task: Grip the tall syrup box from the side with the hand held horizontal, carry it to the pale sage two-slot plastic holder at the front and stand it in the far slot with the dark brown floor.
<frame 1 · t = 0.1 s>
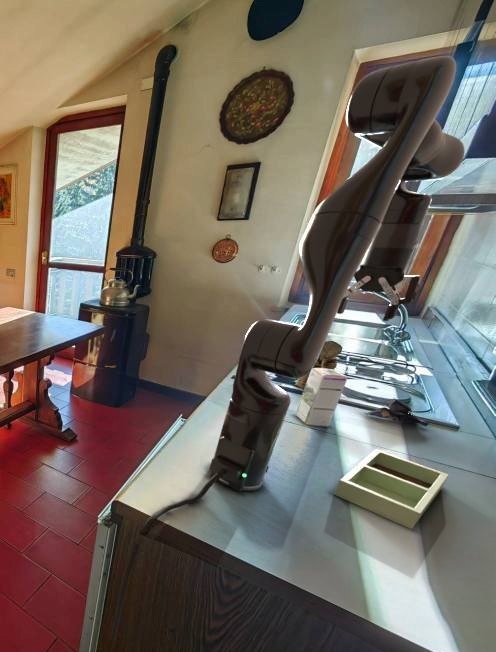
hand: (362, 316, 93), 29 cm above the counter, tool pointing down, fingers open, 8 cm apart
snack package: (393, 420, 108), on the counter
tan boot: (312, 390, 127), on the counter
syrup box: (310, 421, 106), on the counter
holder: (387, 491, 78), on the counter
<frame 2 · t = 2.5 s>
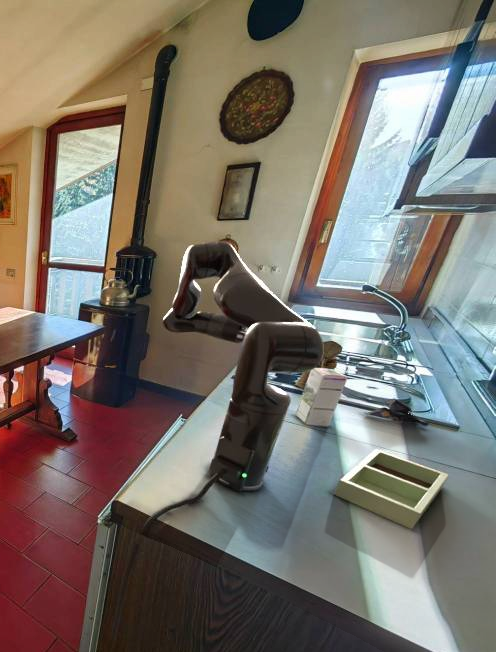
hand: (287, 341, 107), 20 cm above the counter, tool horizontal, fingers open, 8 cm apart
nothing on the counter moved.
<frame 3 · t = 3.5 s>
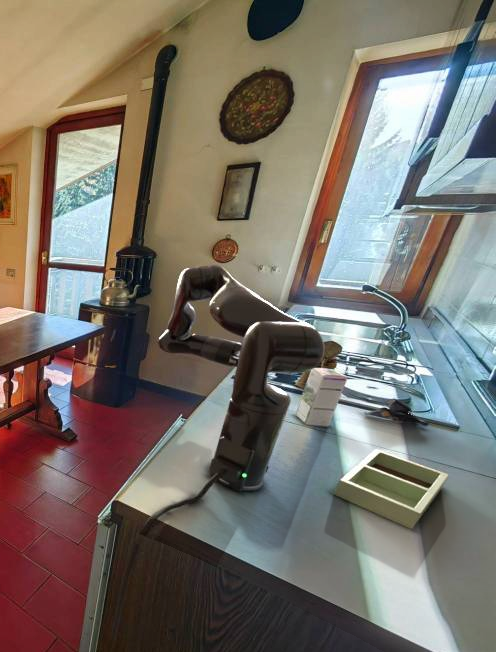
hand: (278, 366, 110), 12 cm above the counter, tool horizontal, fingers open, 8 cm apart
nothing on the counter moved.
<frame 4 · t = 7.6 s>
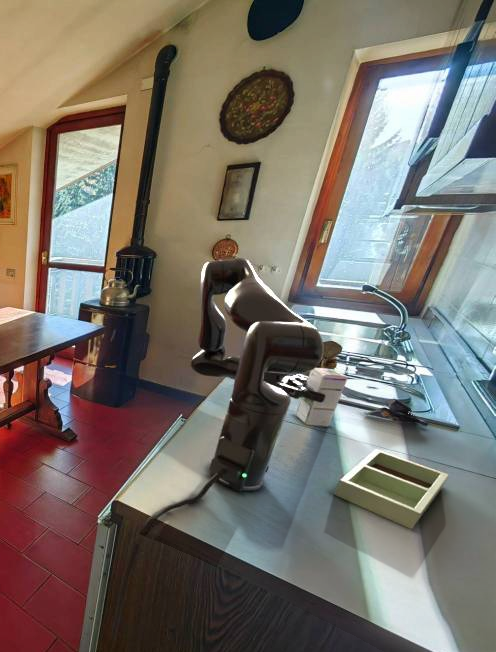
hand: (330, 395, 101), 8 cm above the counter, tool horizontal, fingers closed on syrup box, 8 cm apart
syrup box: (310, 421, 106), on the counter, touching gripper
everything else where it was.
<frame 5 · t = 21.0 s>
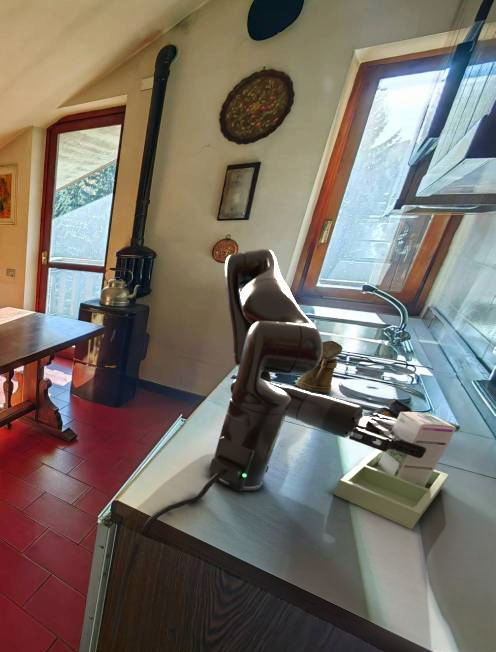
hand: (430, 447, 76), 10 cm above the counter, tool horizontal, fingers closed on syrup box, 8 cm apart
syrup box: (396, 480, 81), point 1 cm above the counter, touching gripper
everything else where it was.
when the fingers open (11 cm above the counter, at t = 22.1 s): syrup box stays where it is, resting on holder.
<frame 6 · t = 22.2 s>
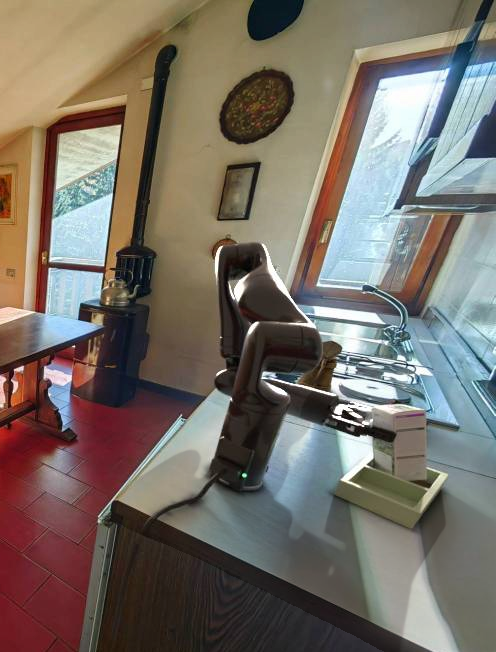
hand: (401, 432, 79), 11 cm above the counter, tool horizontal, fingers open, 8 cm apart
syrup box: (398, 476, 80), point 2 cm above the counter, touching gripper, holder
everything else where it was.
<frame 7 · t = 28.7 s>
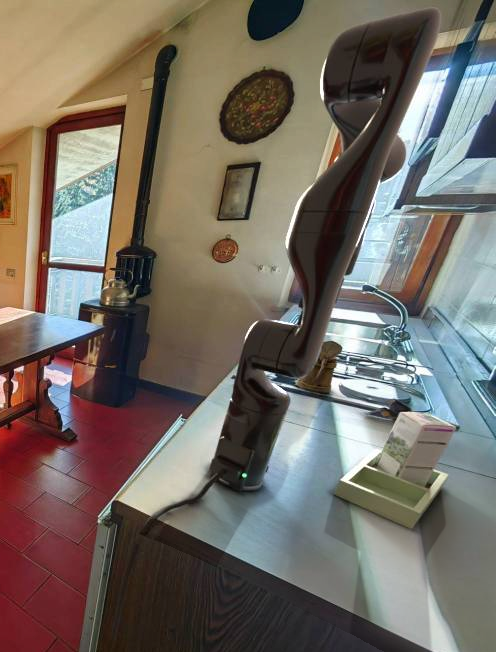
hand: (310, 324, 90), 28 cm above the counter, tool pointing down, fingers open, 8 cm apart
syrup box: (396, 480, 81), point 1 cm above the counter, touching holder
everything else where it was.
at the end: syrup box inside the target area in the holder (0.1 cm from its centre), point 0.5 cm above the holder's base; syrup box tilted 0°; the gripper is holding nothing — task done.
